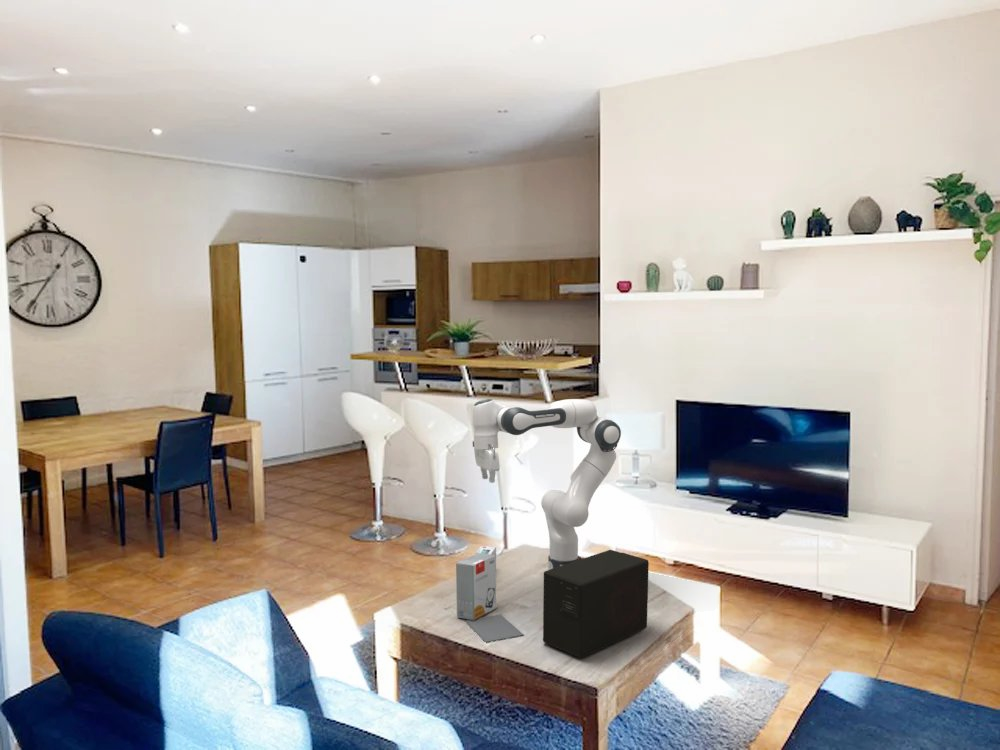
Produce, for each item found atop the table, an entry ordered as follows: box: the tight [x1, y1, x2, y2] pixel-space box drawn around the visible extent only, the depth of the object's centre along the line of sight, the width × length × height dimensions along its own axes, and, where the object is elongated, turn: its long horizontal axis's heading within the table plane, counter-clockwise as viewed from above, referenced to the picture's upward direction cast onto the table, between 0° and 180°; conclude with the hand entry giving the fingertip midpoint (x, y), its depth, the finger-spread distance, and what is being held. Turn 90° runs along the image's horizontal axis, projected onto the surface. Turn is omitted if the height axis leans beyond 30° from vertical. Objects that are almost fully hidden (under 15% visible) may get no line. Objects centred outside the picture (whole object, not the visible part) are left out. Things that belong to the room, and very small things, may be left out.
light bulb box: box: [475, 545, 497, 556], centre depth 320 cm, size 11×7×11 cm, turn 168°
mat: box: [464, 613, 525, 643], centre depth 267 cm, size 14×19×1 cm
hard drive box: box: [455, 553, 497, 620], centre depth 279 cm, size 16×8×20 cm, turn 148°
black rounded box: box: [542, 549, 650, 659], centre depth 260 cm, size 38×20×25 cm, turn 133°
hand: (488, 480), depth 285 cm, fingers open, 8 cm apart
